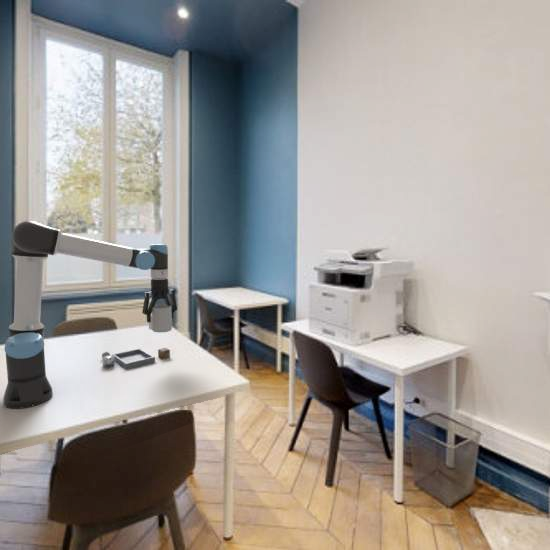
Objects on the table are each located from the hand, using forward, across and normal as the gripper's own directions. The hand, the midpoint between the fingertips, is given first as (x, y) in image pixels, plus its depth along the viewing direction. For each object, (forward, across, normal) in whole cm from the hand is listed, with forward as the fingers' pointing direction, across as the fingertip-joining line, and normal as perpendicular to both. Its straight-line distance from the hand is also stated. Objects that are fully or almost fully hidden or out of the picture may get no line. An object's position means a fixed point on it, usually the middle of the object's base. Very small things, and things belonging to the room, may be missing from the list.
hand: (160, 327), depth 179 cm
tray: (+17, -9, +11) cm, 22 cm away
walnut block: (+17, +4, +6) cm, 19 cm away
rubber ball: (+15, -18, +21) cm, 31 cm away
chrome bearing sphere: (+17, -20, +12) cm, 29 cm away
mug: (+1, +1, 0) cm, 1 cm away
